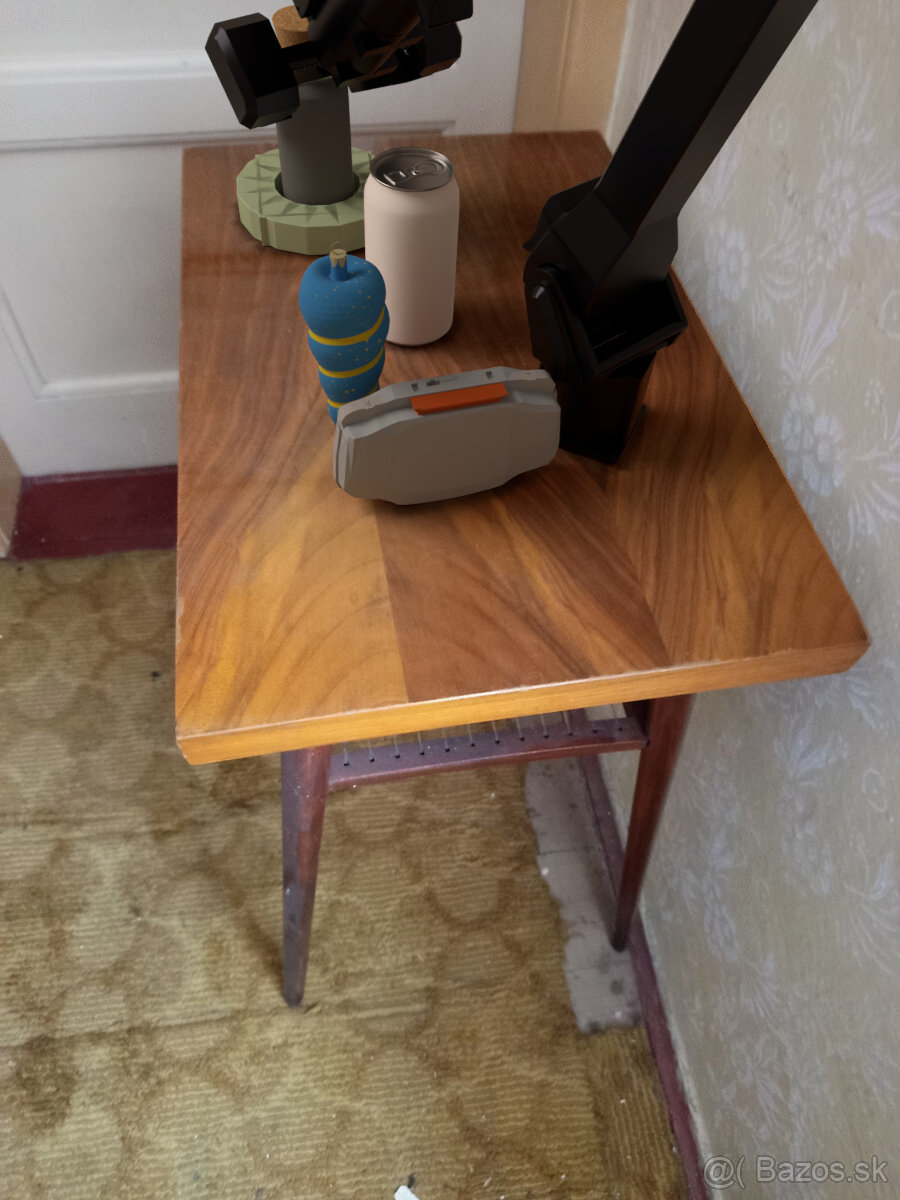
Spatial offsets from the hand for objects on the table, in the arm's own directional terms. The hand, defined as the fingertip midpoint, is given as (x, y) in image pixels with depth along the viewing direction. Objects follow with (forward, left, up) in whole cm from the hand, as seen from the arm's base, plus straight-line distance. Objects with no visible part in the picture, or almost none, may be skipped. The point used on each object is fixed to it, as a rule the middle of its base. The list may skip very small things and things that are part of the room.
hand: (302, 100), depth 72 cm
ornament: (-18, +25, -9) cm, 32 cm away
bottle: (-1, +1, -9) cm, 9 cm away
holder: (-1, +1, -9) cm, 9 cm away
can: (-15, +11, -9) cm, 21 cm away
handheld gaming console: (-25, +25, -9) cm, 36 cm away
